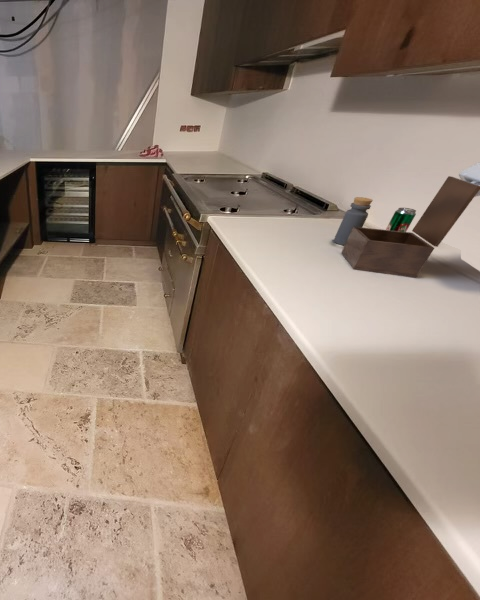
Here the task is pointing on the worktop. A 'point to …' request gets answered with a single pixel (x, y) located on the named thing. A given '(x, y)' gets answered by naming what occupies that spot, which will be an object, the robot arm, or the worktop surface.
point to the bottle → (353, 219)
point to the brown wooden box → (386, 251)
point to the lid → (445, 209)
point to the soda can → (401, 219)
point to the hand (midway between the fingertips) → (456, 198)
